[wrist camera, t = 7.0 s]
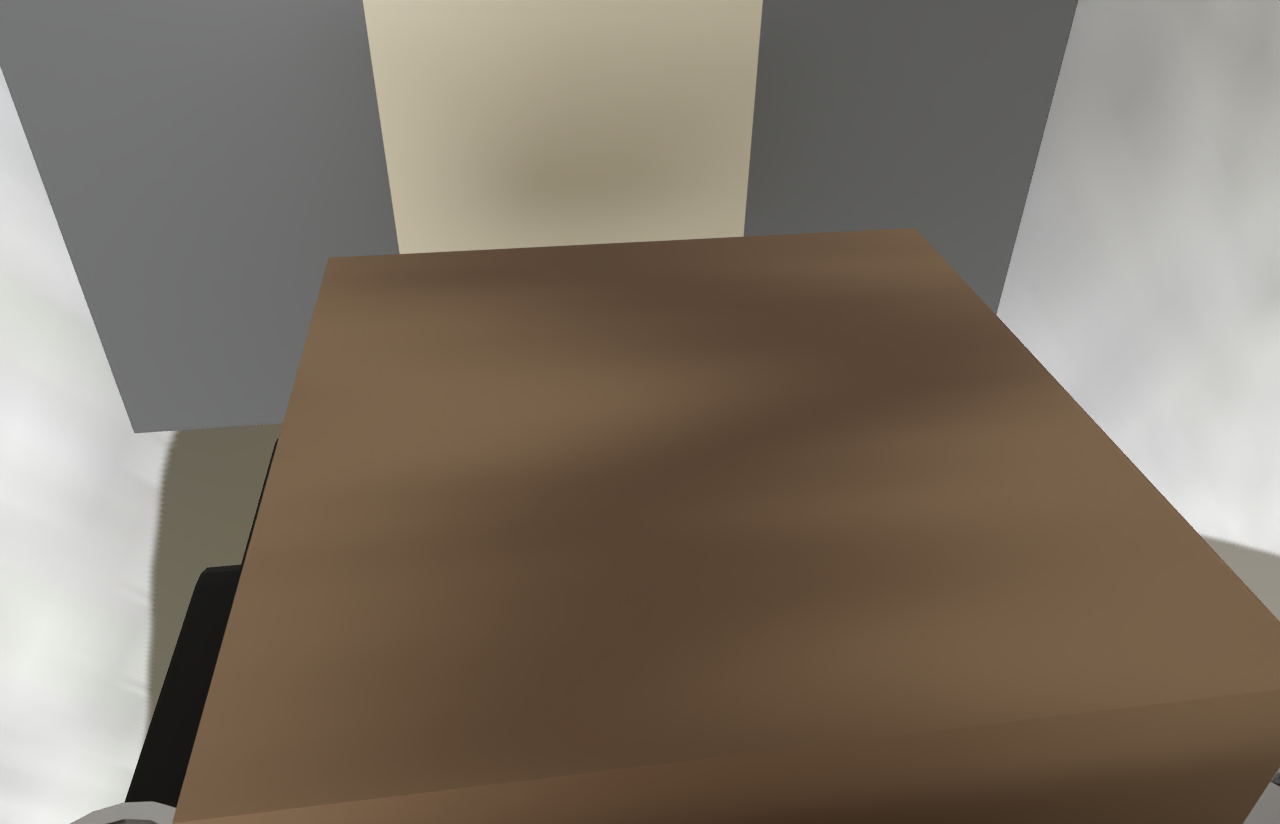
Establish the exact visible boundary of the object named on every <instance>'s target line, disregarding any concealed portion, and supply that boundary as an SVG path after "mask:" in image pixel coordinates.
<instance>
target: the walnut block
mask: <svg viewBox="0 0 1280 824" xmlns="http://www.w3.org/2000/svg"><path fill="white" fill-rule="evenodd" d="M1279 768H1280V622H1279V620H1278V619H1277V618H1276V617H1275V616H1274V615H1273V614H1272V613H1271V612H1270V611H1269V610H1268V608H1267V607H1266V606H1265V605H1264V604H1263V603H1262V602H1261V601H1260V600H1259V599H1258V598H1257V597H1256V596H1255V594H1254V593H1253V592H1251V590H1250V589H1249V588H1248V587H1247V586H1246V585H1245V584H1244V583H1243V581H1242V580H1241V579H1240V578H1239V577H1238V576H1237V575H1236V574H1235V573H1234V572H1233V571H1232V570H1231V569H1230V567H1229V566H1228V565H1227V564H1226V563H1225V562H1224V561H1223V560H1222V559H1221V558H1220V557H1219V556H1218V554H1217V553H1216V552H1215V551H1214V550H1213V549H1212V548H1211V547H1210V546H1209V545H1208V544H1207V543H1206V541H1205V540H1204V539H1203V538H1202V537H1201V536H1200V535H1199V534H1198V533H1197V532H1196V531H1195V530H1194V529H1193V527H1192V526H1191V525H1190V524H1189V523H1188V522H1187V521H1186V520H1185V519H1184V518H1183V517H1182V516H1181V514H1180V513H1179V512H1178V511H1177V510H1176V509H1175V508H1174V507H1173V506H1172V505H1171V504H1170V503H1169V502H1168V500H1167V499H1166V498H1165V497H1164V496H1163V495H1162V494H1161V493H1160V492H1159V491H1158V490H1157V489H1156V487H1155V486H1154V485H1153V484H1152V483H1151V482H1150V481H1149V480H1148V479H1147V478H1146V477H1145V476H1144V474H1143V473H1142V472H1141V471H1140V470H1139V469H1138V468H1137V467H1136V466H1135V465H1134V464H1133V463H1132V462H1131V460H1130V459H1129V458H1128V457H1127V456H1126V455H1125V454H1124V453H1123V452H1122V451H1121V450H1120V449H1119V447H1118V446H1117V445H1116V444H1115V443H1114V442H1113V441H1112V440H1111V439H1110V438H1109V437H1108V436H1107V434H1106V433H1105V432H1104V431H1103V430H1102V429H1101V428H1100V427H1099V426H1098V425H1097V424H1096V423H1095V422H1094V420H1093V419H1092V418H1091V417H1090V416H1089V415H1088V414H1087V413H1086V412H1085V411H1084V410H1083V409H1082V407H1081V406H1080V405H1079V404H1078V403H1077V402H1076V401H1075V400H1074V399H1073V398H1072V397H1071V396H1070V395H1069V393H1068V392H1067V391H1066V390H1065V389H1064V388H1063V387H1062V386H1061V385H1060V384H1059V383H1058V382H1057V380H1056V379H1055V378H1054V377H1053V376H1052V375H1051V374H1050V373H1049V372H1048V371H1047V370H1046V369H1045V367H1044V366H1043V365H1042V364H1041V363H1040V362H1039V361H1038V360H1037V359H1036V358H1035V357H1034V356H1033V355H1032V353H1031V352H1030V351H1029V350H1028V349H1027V348H1026V347H1025V346H1024V345H1023V344H1022V343H1021V342H1020V340H1019V339H1018V338H1017V337H1016V336H1015V335H1014V334H1013V333H1012V332H1011V331H1010V330H1009V329H1008V328H1007V326H1006V325H1005V324H1004V323H1003V322H1002V321H1001V320H1000V319H999V318H998V317H997V316H996V315H995V313H994V312H993V311H992V310H991V309H990V308H989V307H988V306H987V305H986V304H985V303H984V302H983V300H982V299H981V298H980V297H979V296H978V295H977V294H976V293H975V292H974V291H973V290H972V289H971V288H970V286H969V285H968V284H967V283H966V282H965V281H964V280H963V279H962V278H961V277H960V276H959V275H958V273H957V272H956V271H955V270H954V269H953V268H952V267H951V266H950V265H949V264H948V263H947V262H946V261H945V259H944V258H943V257H942V256H941V255H940V254H939V253H938V252H937V251H936V250H935V249H934V248H933V246H932V245H931V244H930V243H929V242H928V241H927V240H926V239H925V238H924V237H923V236H922V235H921V233H920V232H919V231H918V230H917V229H916V228H902V229H883V230H863V231H843V232H824V233H804V234H784V235H765V236H745V237H725V238H706V239H686V240H666V241H647V242H627V243H607V244H588V245H568V246H548V247H529V248H509V249H489V250H470V251H450V252H430V253H411V254H391V255H371V256H352V257H332V258H329V259H328V262H327V266H326V269H325V273H324V277H323V280H322V284H321V287H320V291H319V295H318V298H317V302H316V306H315V309H314V313H313V316H312V320H311V324H310V327H309V331H308V334H307V338H306V342H305V345H304V349H303V352H302V356H301V360H300V363H299V367H298V371H297V374H296V378H295V381H294V385H293V389H292V392H291V396H290V399H289V403H288V407H287V410H286V414H285V417H284V421H283V425H282V428H281V432H280V436H279V439H278V443H277V446H276V450H275V454H274V457H273V461H272V464H271V468H270V472H269V475H268V479H267V482H266V486H265V490H264V493H263V497H262V501H261V504H260V508H259V511H258V515H257V519H256V522H255V526H254V529H253V533H252V537H251V540H250V544H249V547H248V551H247V555H246V558H245V562H244V566H243V569H242V573H241V576H240V580H239V584H238V587H237V591H236V594H235V598H234V602H233V605H232V609H231V612H230V616H229V620H228V623H227V627H226V630H225V634H224V638H223V641H222V645H221V649H220V652H219V656H218V659H217V663H216V667H215V670H214V674H213V677H212V681H211V685H210V688H209V692H208V695H207V699H206V703H205V706H204V710H203V714H202V717H201V721H200V724H199V728H198V732H197V735H196V739H195V742H194V746H193V750H192V753H191V757H190V760H189V764H188V768H187V771H186V775H185V779H184V782H183V786H182V789H181V793H180V797H179V800H178V804H177V807H176V811H175V815H174V818H173V822H172V824H1243V823H1244V821H1245V820H1246V818H1247V817H1248V815H1249V814H1250V812H1251V810H1252V809H1253V807H1254V806H1255V804H1256V803H1257V801H1258V800H1259V798H1260V797H1261V795H1262V794H1263V792H1264V791H1265V789H1266V788H1267V786H1268V785H1269V783H1270V782H1271V780H1272V779H1273V777H1274V775H1275V774H1276V772H1277V771H1278V769H1279Z"/></svg>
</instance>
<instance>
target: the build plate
mask: <svg viewBox="0 0 1280 824" xmlns="http://www.w3.org/2000/svg"><path fill="white" fill-rule="evenodd" d="M1077 3H1078V0H0V66H1V69H2V72H3V75H4V77H5V80H6V83H7V86H8V88H9V91H10V94H11V97H12V99H13V102H14V105H15V107H16V110H17V113H18V116H19V118H20V121H21V124H22V127H23V129H24V132H25V135H26V138H27V140H28V143H29V146H30V149H31V151H32V154H33V157H34V159H35V162H36V165H37V168H38V170H39V173H40V176H41V179H42V181H43V184H44V187H45V190H46V192H47V195H48V198H49V201H50V203H51V206H52V209H53V211H54V214H55V217H56V220H57V222H58V225H59V228H60V231H61V233H62V236H63V239H64V242H65V244H66V247H67V250H68V253H69V255H70V258H71V261H72V263H73V266H74V269H75V272H76V274H77V277H78V280H79V283H80V285H81V288H82V291H83V294H84V296H85V299H86V302H87V305H88V307H89V310H90V313H91V315H92V318H93V321H94V324H95V326H96V329H97V332H98V335H99V337H100V340H101V343H102V346H103V348H104V351H105V354H106V357H107V359H108V362H109V365H110V367H111V370H112V373H113V376H114V378H115V381H116V384H117V387H118V389H119V392H120V395H121V398H122V400H123V403H124V406H125V409H126V411H127V414H128V417H129V419H130V422H131V425H132V428H133V430H134V433H144V432H159V431H174V430H189V429H204V428H219V427H233V426H248V425H263V424H278V423H283V421H284V417H285V414H286V410H287V407H288V403H289V399H290V396H291V392H292V389H293V385H294V381H295V378H296V374H297V371H298V367H299V363H300V360H301V356H302V352H303V349H304V345H305V342H306V338H307V334H308V331H309V327H310V324H311V320H312V316H313V313H314V309H315V306H316V302H317V298H318V295H319V291H320V287H321V284H322V280H323V277H324V273H325V269H326V266H327V262H328V259H329V258H332V257H352V256H371V255H391V254H411V253H430V252H450V251H470V250H489V249H509V248H529V247H548V246H568V245H588V244H607V243H627V242H647V241H666V240H686V239H706V238H725V237H745V236H765V235H784V234H804V233H824V232H843V231H863V230H883V229H902V228H916V229H917V230H918V231H919V232H920V233H921V235H922V236H923V237H924V238H925V239H926V240H927V241H928V242H929V243H930V244H931V245H932V246H933V248H934V249H935V250H936V251H937V252H938V253H939V254H940V255H941V256H942V257H943V258H944V259H945V261H946V262H947V263H948V264H949V265H950V266H951V267H952V268H953V269H954V270H955V271H956V272H957V273H958V275H959V276H960V277H961V278H962V279H963V280H964V281H965V282H966V283H967V284H968V285H969V286H970V288H971V289H972V290H973V291H974V292H975V293H976V294H977V295H978V296H979V297H980V298H981V299H982V300H983V302H984V303H985V304H986V305H987V306H988V307H989V308H990V309H991V310H992V311H993V312H994V313H995V315H996V313H997V309H998V305H999V302H1000V298H1001V294H1002V290H1003V286H1004V282H1005V279H1006V275H1007V271H1008V267H1009V263H1010V259H1011V256H1012V252H1013V248H1014V244H1015V240H1016V237H1017V233H1018V229H1019V225H1020V221H1021V217H1022V214H1023V210H1024V206H1025V202H1026V198H1027V194H1028V191H1029V187H1030V183H1031V179H1032V175H1033V171H1034V168H1035V164H1036V160H1037V156H1038V152H1039V148H1040V145H1041V141H1042V137H1043V133H1044V129H1045V125H1046V122H1047V118H1048V114H1049V110H1050V106H1051V103H1052V99H1053V95H1054V91H1055V87H1056V83H1057V80H1058V76H1059V72H1060V68H1061V64H1062V60H1063V57H1064V53H1065V49H1066V45H1067V41H1068V37H1069V34H1070V30H1071V26H1072V22H1073V18H1074V14H1075V11H1076V7H1077Z"/></svg>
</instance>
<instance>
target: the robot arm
mask: <svg viewBox="0 0 1280 824" xmlns="http://www.w3.org/2000/svg"><path fill="white" fill-rule="evenodd" d="M278 439H279V438H278ZM278 439H277V441H276V443H275V446H274V449H273V453H272V457H271V460H270V464H269V467H268V471H267V474H266V478H265V482H264V485H263V489H262V492H261V496H260V500H259V503H258V507H257V511H256V514H255V517H254V521H253V525H252V528H251V532H250V535H249V539H248V543H247V546H246V550H245V553H244V557H243V561H242V564H241V565H233V566H221V567H210V568H207V569H205V570H204V571H203V572H202V573H201V575H200V577H199V579H198V581H197V584H196V586H195V589H194V592H193V595H192V598H191V601H190V604H189V607H188V610H187V614H186V617H185V620H184V622H183V626H182V629H181V632H180V635H179V638H178V641H177V644H176V647H175V650H174V653H173V656H172V659H171V662H170V666H169V668H168V672H167V674H166V678H165V681H164V684H163V687H162V690H161V693H160V696H159V699H158V702H157V705H156V708H155V711H154V714H153V717H152V720H151V723H150V726H149V730H148V733H147V736H146V739H145V742H144V745H143V748H142V751H141V754H140V757H139V760H138V763H137V766H136V769H135V772H134V775H133V778H132V781H131V785H130V788H129V791H128V794H127V797H126V800H125V803H121V804H118V805H114V806H111V807H107V808H104V809H100V810H97V811H93V812H91V813H89V814H88V815H86V816H84V817H82V818H80V819H78V820H76V821H74V822H72V823H71V824H172V822H173V818H174V815H175V811H176V807H177V804H178V800H179V797H180V793H181V789H182V786H183V782H184V779H185V775H186V771H187V768H188V764H189V760H190V757H191V753H192V750H193V746H194V742H195V739H196V735H197V732H198V728H199V724H200V721H201V717H202V714H203V710H204V706H205V703H206V699H207V695H208V692H209V688H210V685H211V681H212V677H213V674H214V670H215V667H216V663H217V659H218V656H219V652H220V649H221V645H222V641H223V638H224V634H225V630H226V627H227V623H228V620H229V616H230V612H231V609H232V605H233V602H234V598H235V594H236V591H237V587H238V584H239V580H240V576H241V573H242V569H243V566H244V562H245V558H246V555H247V551H248V547H249V544H250V540H251V537H252V533H253V529H254V526H255V522H256V519H257V515H258V511H259V508H260V504H261V501H262V497H263V493H264V490H265V486H266V482H267V479H268V475H269V472H270V468H271V464H272V461H273V457H274V454H275V450H276V446H277V443H278ZM1243 824H1280V768H1279V769H1278V771H1277V772H1276V774H1275V775H1274V777H1273V779H1272V780H1271V782H1270V783H1269V785H1268V786H1267V788H1266V789H1265V791H1264V792H1263V794H1262V795H1261V797H1260V798H1259V800H1258V801H1257V803H1256V804H1255V806H1254V807H1253V809H1252V810H1251V812H1250V814H1249V815H1248V817H1247V818H1246V820H1245V821H1244V823H1243Z"/></svg>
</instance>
